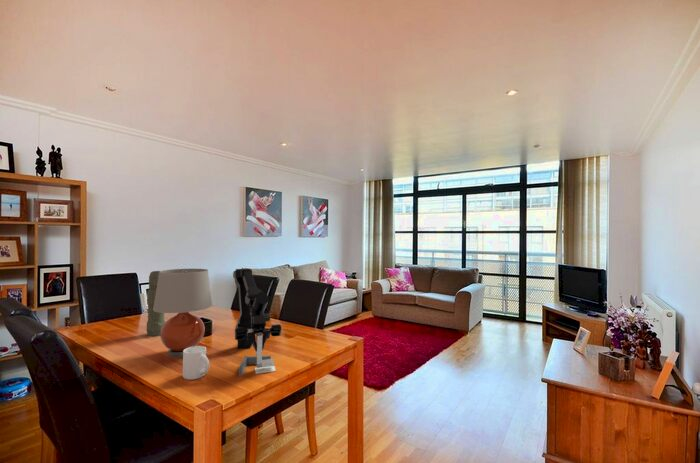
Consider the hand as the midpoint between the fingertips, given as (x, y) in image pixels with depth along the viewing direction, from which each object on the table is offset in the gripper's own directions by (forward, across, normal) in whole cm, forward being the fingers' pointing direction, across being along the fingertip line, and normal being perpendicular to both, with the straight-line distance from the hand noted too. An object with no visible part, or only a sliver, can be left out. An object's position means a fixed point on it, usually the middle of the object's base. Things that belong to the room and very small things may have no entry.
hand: (259, 350), depth 134 cm
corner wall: (+4, -1, +8) cm, 9 cm away
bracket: (+4, +3, +6) cm, 7 cm away
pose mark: (+5, +2, +7) cm, 9 cm away
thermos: (-43, -50, +56) cm, 86 cm away
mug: (+4, -23, +8) cm, 25 cm away
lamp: (-17, -32, +30) cm, 47 cm away
